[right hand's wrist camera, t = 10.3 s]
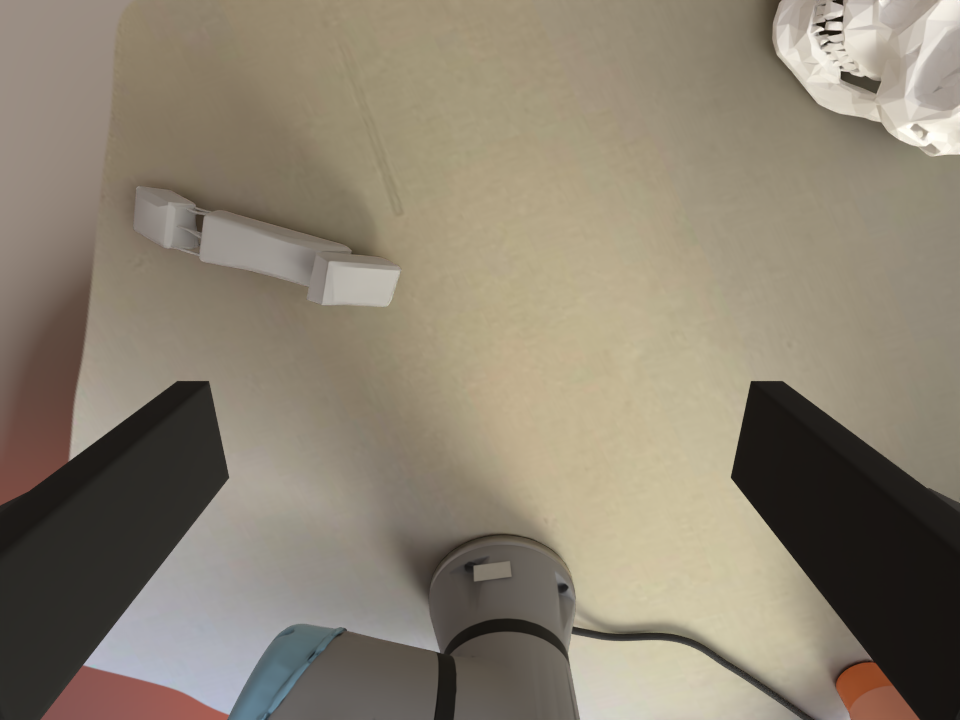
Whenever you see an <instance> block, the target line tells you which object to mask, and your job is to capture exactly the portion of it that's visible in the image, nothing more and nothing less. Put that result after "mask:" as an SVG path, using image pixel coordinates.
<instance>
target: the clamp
mask: <svg viewBox="0 0 960 720" xmlns="http://www.w3.org/2000/svg"><path fill="white" fill-rule="evenodd" d="M196 210H199V211H202V212H197V211H196ZM204 212H205V213H204ZM196 214H200V215H205V216H204V219H203V227H202V232H198V231H197V227H196ZM133 228H134V230H135V231H136V232H138V233H140V234H141V235H143V236H145V237H146V238H148V239H150V240H152V241H153V242H155V243H157V244H158V245H160V246H162V247H163V248H168V249H178V250H180V251H183V252H186V253H190V254H193V255H196V256H199V258H200V260H201V261H203V262H206V263H211V264H217V265H222V266H227V267H233V268H238V269H244V270H248V271H252V272H256V273H260V274H264V275H268V276H272V277H275V278H279V279H283V280H287V281H290V282H293V283H297V284H300V285H303V286H307V287H309V290H308V295H307V300H309V301H312V302H315V303H318V304H321V305H356V306H372V307H386V306H388V305H389V304H390V302H391V301H392V298H393V295H394V291H395V288H396V285H397V282H398V279H399V275H400V272H401V268H400V267H399V266H398V265H396V264H394V263H393V262H391V261H389V260H387V259H385V258H381V257H378V256H366V255H355V254H351V253H352V251H351V250H350V249H349V248H348V247H347V246H345V245H344V244H340V243H337V242H333V241H330V240H326V239H323V238H319V237H315V236H312V235H308V234H305V233H301V232H298V231H294V230H291V229H287V228H284V227H280V226H276V225H273V224H269V223H266V222H262V221H259V220H255V219H252V218H248V217H245V216H241V215H238V214H234V213H231V212H228V211H224V210H215V211H213V212H211V211H208V210H204V209H201V208H198V207H196V205H195V204H194V203H193V202H191V201H190V200H188V199H186V198H184V197H182V196H180V195H179V194H177V193H175V192H173V191H171V190H169V189H167V190H166V189H160V188H152V187H145V186H137V188H136V198H135V211H134V224H133ZM199 234H200V235H199ZM198 237H199V238H200V239H201V243H200V244H199V241H198ZM197 247H200V251H199V253H195V252H192V251H189V250H185V249H193V248H197Z"/></svg>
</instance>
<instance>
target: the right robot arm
mask: <svg viewBox="0 0 960 720" xmlns="http://www.w3.org/2000/svg"><path fill="white" fill-rule="evenodd" d="M228 479H229V474H228V470H227V465H226V460H225V455H224V451H223V446H222V441H221V436H220V431H219V427H218V422H217V417H216V412H215V408H214V403H213V398H212V393H211V388H210V384H209V381H177V382H176V383H174V384H173V385H172V386H170V387H169V388H167V389H166V390H165V391H163V392H162V393H161V394H159V395H158V396H157V397H155V398H154V399H153V400H151V401H150V402H149V403H147V404H146V405H145V406H143V407H142V408H141V409H139V410H138V411H137V412H135V413H134V414H132V415H131V416H130V417H128V418H127V419H126V420H124V421H123V422H122V423H120V424H119V425H118V426H116V427H115V428H114V429H112V430H111V431H110V432H108V433H107V434H106V435H104V436H103V437H102V438H100V439H99V440H97V441H96V442H95V443H93V444H92V445H91V446H89V447H88V448H87V449H85V450H84V451H83V452H81V453H80V454H79V455H77V456H76V457H75V458H73V459H72V460H71V461H69V462H68V463H67V464H65V465H64V466H62V467H61V468H60V469H58V470H57V471H56V472H54V473H53V474H52V475H50V476H49V477H48V478H46V479H45V480H44V481H42V482H41V483H40V484H38V485H37V486H36V487H34V488H33V489H32V490H30V491H29V492H27V493H25V494H23V495H21V496H19V497H17V498H15V499H13V500H11V501H9V502H7V503H5V504H3V505H1V506H0V720H40V719H41V718H42V717H43V715H44V714H45V713H46V712H47V710H48V709H49V708H50V706H51V705H52V704H53V703H54V701H55V700H56V699H57V698H58V696H59V695H60V694H61V692H62V691H63V690H64V689H65V687H66V686H67V685H68V683H69V682H70V681H71V680H72V678H73V677H74V676H75V674H76V673H77V672H78V671H79V669H80V668H81V667H82V666H83V664H84V663H85V662H86V660H87V659H88V658H89V657H90V655H91V654H92V653H93V651H94V650H95V649H96V648H97V646H98V645H99V644H100V642H101V641H102V640H103V639H104V637H105V636H106V635H107V634H108V632H109V631H110V630H111V628H112V627H113V626H114V625H115V623H116V622H117V621H118V619H119V618H120V617H121V616H122V614H123V613H124V612H125V610H126V609H127V608H128V607H129V605H130V604H131V603H132V601H133V600H134V599H135V598H136V596H137V595H138V594H139V593H140V591H141V590H142V589H143V587H144V586H145V585H146V584H147V582H148V581H149V580H150V578H151V577H152V576H153V575H154V573H155V572H156V571H157V569H158V568H159V567H160V566H161V564H162V563H163V562H164V560H165V559H166V558H167V557H168V555H169V554H170V553H171V552H172V550H173V549H174V548H175V546H176V545H177V544H178V543H179V541H180V540H181V539H182V537H183V536H184V535H185V534H186V532H187V531H188V530H189V528H190V527H191V526H192V525H193V523H194V522H195V521H196V520H197V518H198V517H199V516H200V514H201V513H202V512H203V511H204V509H205V508H206V507H207V505H208V504H209V503H210V502H211V500H212V499H213V498H214V496H215V495H216V494H217V493H218V491H219V490H220V489H221V487H222V486H223V485H224V484H225V482H226V481H227V480H228ZM731 479H732V480H733V481H734V482H735V484H736V485H737V486H738V487H739V489H740V490H741V491H742V493H743V494H744V495H745V496H746V498H747V499H748V500H749V502H750V503H751V504H752V505H753V507H754V508H755V509H756V511H757V512H758V513H759V514H760V516H761V517H762V518H763V520H764V521H765V522H766V523H767V525H768V526H769V527H770V528H771V530H772V531H773V532H774V534H775V535H776V536H777V537H778V539H779V540H780V541H781V543H782V544H783V545H784V546H785V548H786V549H787V550H788V552H789V553H790V554H791V555H792V557H793V558H794V559H795V561H796V562H797V563H798V564H799V566H800V567H801V568H802V569H803V571H804V572H805V573H806V575H807V576H808V577H809V578H810V580H811V581H812V582H813V584H814V585H815V586H816V587H817V589H818V590H819V591H820V593H821V594H822V595H823V596H824V598H825V599H826V600H827V601H828V603H829V604H830V605H831V607H832V608H833V609H834V610H835V612H836V613H837V614H838V616H839V617H840V618H841V619H842V621H843V622H844V623H845V625H846V626H847V627H848V628H849V630H850V631H851V632H852V634H853V635H854V636H855V637H856V639H857V640H858V641H859V642H860V644H861V645H862V646H863V648H864V649H865V650H866V651H867V653H868V654H869V655H870V657H871V658H872V659H873V660H874V662H875V663H876V664H877V666H878V667H879V668H880V669H881V671H882V672H883V673H884V674H885V676H886V677H887V678H888V680H889V681H890V682H891V683H892V685H893V686H894V687H895V689H896V690H897V691H898V692H899V694H900V695H901V696H902V698H903V699H904V700H905V701H906V703H907V704H908V705H909V707H910V708H911V709H912V710H913V712H914V713H915V714H916V715H917V717H918V718H919V719H920V720H960V503H958V502H956V501H954V500H952V499H950V498H948V497H946V496H944V495H942V494H940V493H938V492H936V491H934V490H932V489H930V488H926V487H924V486H923V485H922V484H920V483H919V482H918V481H916V480H915V479H914V478H912V477H911V476H910V475H908V474H907V473H906V472H904V471H903V470H902V469H900V468H899V467H898V466H896V465H895V464H893V463H892V462H891V461H889V460H888V459H887V458H885V457H884V456H883V455H881V454H880V453H879V452H877V451H876V450H875V449H873V448H872V447H871V446H869V445H868V444H867V443H865V442H864V441H863V440H861V439H860V438H858V437H857V436H856V435H854V434H853V433H852V432H850V431H849V430H848V429H846V428H845V427H844V426H842V425H841V424H840V423H838V422H837V421H836V420H834V419H833V418H832V417H830V416H829V415H828V414H826V413H825V412H823V411H822V410H821V409H819V408H818V407H817V406H815V405H814V404H813V403H811V402H810V401H809V400H807V399H806V398H805V397H803V396H802V395H801V394H799V393H798V392H797V391H795V390H794V389H793V388H791V387H790V386H788V385H787V384H786V383H784V382H783V381H751V384H750V388H749V393H748V398H747V403H746V408H745V412H744V417H743V422H742V427H741V431H740V436H739V441H738V446H737V451H736V455H735V460H734V465H733V470H732V474H731ZM575 609H576V600H575V590H574V585H573V581H572V577H571V574H570V571H569V570H568V568H567V566H566V564H565V563H564V562H563V560H562V559H561V558H560V557H559V556H558V555H557V554H556V553H555V552H553V551H552V550H551V549H549V548H548V547H546V546H544V545H542V544H540V543H538V542H536V541H533V540H530V539H527V538H523V537H518V536H509V535H497V536H488V537H483V538H479V539H475V540H472V541H470V542H467V543H465V544H463V545H461V546H459V547H458V548H456V549H454V550H453V551H452V552H450V553H449V554H448V555H447V556H446V557H445V558H444V559H443V560H442V561H441V562H440V564H439V565H438V567H437V568H436V570H435V572H434V574H433V577H432V580H431V585H430V593H429V610H430V617H431V621H432V624H433V628H434V631H435V635H436V639H437V642H438V646H439V649H440V653H438V652H435V651H430V650H426V649H421V648H417V647H413V646H408V645H404V644H399V643H395V642H390V641H386V640H381V639H377V638H373V637H369V636H365V635H361V634H357V633H353V632H349V631H347V630H346V629H345V628H342V627H340V628H337V629H333V628H326V627H320V626H314V625H308V624H296V625H292V626H290V627H288V628H286V629H285V630H283V631H282V632H281V633H280V634H278V635H277V637H276V638H275V639H274V640H273V641H272V642H271V644H270V645H269V646H268V648H267V649H266V651H265V652H264V654H263V655H262V657H261V658H260V660H259V661H258V663H257V665H256V666H255V668H254V670H253V672H252V673H251V675H250V677H249V679H248V680H247V682H246V684H245V686H244V688H243V690H242V692H241V693H240V695H239V697H238V699H237V701H236V703H235V705H234V707H233V709H232V711H231V713H230V715H229V717H228V719H227V720H580V717H579V712H578V706H577V701H576V696H575V690H574V685H573V679H572V674H571V669H570V664H569V658H568V650H569V644H570V639H571V634H575V635H580V636H585V637H591V638H596V639H601V640H611V641H638V640H666V641H673V642H678V643H682V644H685V645H688V646H691V647H693V648H696V649H698V650H700V651H701V652H703V653H705V654H706V655H708V656H709V657H711V658H712V659H713V660H715V661H716V662H718V663H719V664H721V665H722V666H724V667H725V668H727V669H729V670H730V671H732V672H734V673H735V674H737V675H738V676H740V677H742V678H743V679H745V680H746V681H748V682H749V683H751V684H752V685H754V686H755V687H757V688H758V689H760V690H761V691H763V692H764V693H766V694H767V695H769V696H770V697H772V698H773V699H775V700H776V701H777V702H779V703H780V704H782V705H783V706H785V707H786V708H787V709H789V710H790V711H792V712H793V713H795V714H796V715H797V716H799V717H800V718H802V719H803V720H814V719H812V718H811V717H809V716H808V715H806V714H805V713H804V712H802V711H801V710H799V709H798V708H796V707H795V706H794V705H792V704H791V703H789V702H788V701H787V700H785V699H784V698H782V697H781V696H780V695H778V694H777V693H775V692H774V691H772V690H771V689H769V688H768V687H766V686H765V685H763V684H762V683H760V682H759V681H758V680H756V679H755V678H753V677H752V676H750V675H749V674H747V673H746V672H744V671H742V670H741V669H739V668H738V667H736V666H734V665H733V664H731V663H729V662H728V661H726V660H725V659H723V658H722V657H720V656H719V655H717V654H716V653H715V652H713V651H712V650H710V649H709V648H707V647H706V646H704V645H702V644H700V643H698V642H696V641H694V640H692V639H689V638H686V637H682V636H678V635H674V634H666V633H635V634H612V633H603V632H597V631H592V630H587V629H582V628H577V627H573V622H574V616H575Z"/></svg>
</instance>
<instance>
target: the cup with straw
mask: <svg viewBox="0 0 960 720" xmlns="http://www.w3.org/2000/svg"><path fill="white" fill-rule="evenodd" d="M836 689H837V692H838V694H839V695H840V697H841V699H842V701H843V703H844V705H845V706H846V708H847V710H848V712H849V714H850V719H851V720H920V719H919V718H918V717H917V715H916V714H915V713H914V712H913V710H912V709H911V708H910V707H909V705H908V704H907V703H906V701H905V700H904V699H903V698H902V696H901V695H900V694H899V692H898V691H897V690H896V689H895V687H894V686H893V685H892V683H891V682H890V681H889V680H888V678H887V677H886V676H885V674H884V673H883V672H882V671H881V669H880V668H879V667H878V666H877V664H876V663H873V662H867V663H861V664H857V665H854V666H852V667H850V668H848V669H847V670H845V671H844V672H843V673H842V674H841V675H840V676H839V678H838V680H837V683H836Z"/></svg>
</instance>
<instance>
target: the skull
mask: <svg viewBox="0 0 960 720" xmlns="http://www.w3.org/2000/svg"><path fill="white" fill-rule="evenodd" d="M832 1H833V0H781V2H780V3H779V6H778V9H777V12H776V15H775V18H774V21H773V35H772V40H773V44H774V47H775V51H776V54H777V56H778V57H779V58H780V59H781V60H782V61H783V62H784V63H785V65H786V66H787V67H788V68H789V69H790V70H791V71H792V72H793V74H794V75H795V76H796V77H797V79H798V80H799V81H800V82H801V84H802V85H803V86H804V87H805V89H806V90H807V91H808V92H809V94H810V95H811V96H812V97H813V98H814V100H815V101H816V102H817V103H818V104H819V105H821V106H823V107H825V108H827V109H830V110H832V111H834V112H837V113H839V114H845V115H852V116H858V117H864V118H867V119H869V120H872V121H877V122H882V124H883V125H884V127H885V128H886V130H887V131H888V132H889V133H890V134H891V135H893V136H894V137H896V138H897V139H899V140H901V141H903V142H905V143H908V144H910V145H912V146H918V147H919V148H920V149H921V150H922V151H924V152H925V153H926V154H927V155H929V156H938V155H946V154H960V0H844V1H843V5H840V4H837V3H834V2H832ZM824 4H826V6H821V5H824ZM821 14H823V15H821ZM817 15H818V16H817ZM843 15H844V17H843V22H832V21H829V22H826V25H825V30H842V33H841V34H838V35H833V36H829V35H828V34H825V35H821V36H820V35H819V32H820V31H823V30H824V28H822V27H820V26H817V25H816V23H820V22H825V19H827V20H830V19H833V18H837V17H840V16H843ZM829 40H830V41H831V42H834V43H827V45H824V43H826V42H827V41H829ZM840 41H841V42H840ZM843 49H845V50H843ZM841 71H845V72H850V73H851V74H852V75H856V76H859V77H863V76H867V77H869V78H870V79H872V80H876V81H881V84H880V86H879V89H878V91H877V93H873V92H871V91H869V90H866V89H864V88H861V87H858V86H856V85H853V84H850V83H848V82H845V81H843V80H842V79H841Z"/></svg>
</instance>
